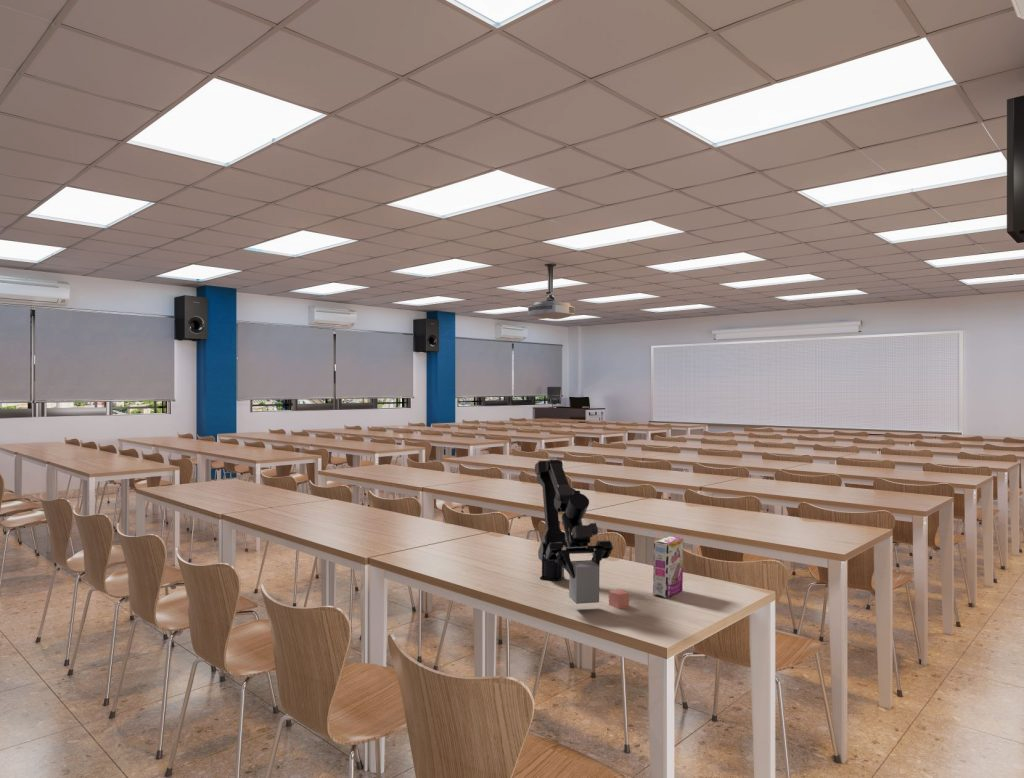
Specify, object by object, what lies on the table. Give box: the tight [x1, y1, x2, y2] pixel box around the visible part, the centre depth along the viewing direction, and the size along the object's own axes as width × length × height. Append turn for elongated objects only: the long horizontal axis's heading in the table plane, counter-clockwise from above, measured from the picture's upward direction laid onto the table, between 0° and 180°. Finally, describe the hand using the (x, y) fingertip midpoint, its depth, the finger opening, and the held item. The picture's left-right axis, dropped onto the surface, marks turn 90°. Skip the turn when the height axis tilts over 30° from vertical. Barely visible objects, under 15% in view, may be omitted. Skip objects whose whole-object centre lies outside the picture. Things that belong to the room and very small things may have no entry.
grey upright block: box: [568, 559, 600, 605], centre depth 178 cm, size 7×7×10 cm
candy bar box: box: [652, 536, 684, 599], centre depth 195 cm, size 11×5×16 cm, turn 141°
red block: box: [608, 588, 630, 610], centre depth 182 cm, size 4×4×4 cm
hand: (585, 577), depth 177 cm, fingers closed on grey upright block, 7 cm apart
